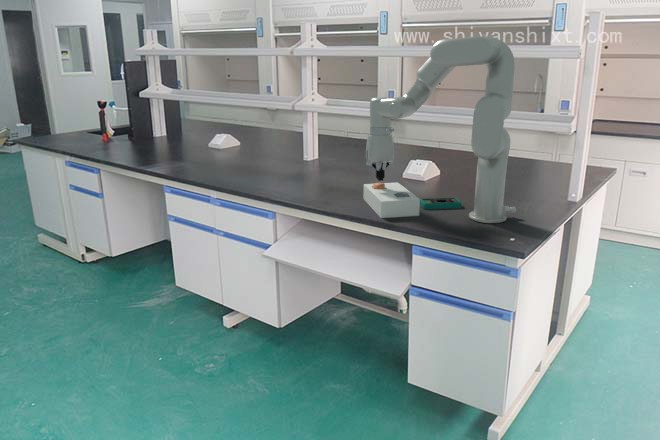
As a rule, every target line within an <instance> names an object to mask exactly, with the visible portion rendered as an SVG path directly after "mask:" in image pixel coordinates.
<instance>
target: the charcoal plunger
mask: <svg viewBox="0 0 660 440" xmlns="http://www.w3.org/2000/svg"><path fill="white" fill-rule="evenodd" d="M396 197H408V193H406V192H398V193H396Z"/></svg>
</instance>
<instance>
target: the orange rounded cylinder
mask: <svg viewBox="0 0 660 440" xmlns="http://www.w3.org/2000/svg"><path fill="white" fill-rule="evenodd" d="M384 183H385V182H384ZM384 183H383V182H375V183H372V184H373V189H385V184H384Z"/></svg>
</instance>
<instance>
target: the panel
mask: <svg viewBox="0 0 660 440" xmlns="http://www.w3.org/2000/svg"><path fill="white" fill-rule="evenodd" d="M373 184H374V183H364V184H363V200H364V202H366V204H368V206H370V208H371V209H372V210H373V211H374V212H375V213H376V214H377V215H378V217H379V218H380V219H387V218H402V217H404V218H405V217H406V218H407V217H419V216H420V207H421V206H420V198H419V197H417V196H416V195H415V194H414V193H413V192H411V191H409V190H408V188H406V187H405V186H403V185H402V184H400V183H399V182H397V181H396V182H384V184H385V189H373ZM398 192H406V193H408V197H396V193H398Z"/></svg>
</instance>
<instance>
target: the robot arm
mask: <svg viewBox="0 0 660 440" xmlns="http://www.w3.org/2000/svg"><path fill="white" fill-rule="evenodd" d="M429 55H430V56H429V58H428V59H427V60H426V61H425V62H424V63H423V64H422V65H421V66H420V67H419V68H418V70H417V72H416V80H415V81H414V84H413V85H412V86H411V87H410V88H409V90H408V91H406V92H405V94H404V95H403V96H398V97H394V98H393V97H392V98H389V97H386V96H385V97H383V96H381V97H380V96H378V97H377V96H376V97H371V99H370V100H369V135H368V134H367V138H366V139H367V140H366V145H365V146H366V147H365V148H366V149H365V160H366V162H365V165H366V166H368V167H373V168H374V169H375V178H376V179H377V180H378V182H381V181H384V179H385V177H386V176H385V170H386V169H387V168H388V167H389V166H392V165H394V164H395V147H394V146H395V145H394V144H395V143H394V139H393V135H392V134H391V133H392V132H394V131H395V128H394V127H392V126H391V119H392V120H401V119H404V118H407V117H410V116H412V115H413V114H415V113H416V112H417V111H418V110H420V108H421V107H422V106H423V105H424V104H425V102H426V101H428V99H429V98H430V97H431V96H432V94H433V92H434V91H435V89H436V88H437V87H438V86H439V84H441V83H442V82H443V80H444V79H445V78H446V77H447V76H449V74H450V73H451V72H452V71H453V70H454V69H455V68H456V67H464V66H465V67H467V66H483V65H486V66H487V73H486V79H485V89H484V95H483V96H482V97H481V98H480V99H479V100H478V101H477V103H476V104H475V106H474V111H473V116H472V117H473V118H472V128H471V129H472V131H471V143H470V144H471V149H472V152H473V153H474V154H473V155H475V156H476V157H477V158H478V159H477V165H476V174H475V175H476V177H475V188H474V189H475V190H474V192H475V193H474V205H473V210H472V211H470V212H469V213H468V218H469V219H471V220H472V221H475V222H479V223H484V224H500V223H503V222H505V221H507V219H508V216H507V214H508V213H516V212H517V208H516V206H510V207H509V205H504V200H505V199H504V197H505V189H506V188H505V187H506V178H507V177H506V175H507V168H508V161H509V153H510V150H511V138H510V134H509V132H508V130H507V129H505V128H504V123H505V120H506V119H507V118H508V117H509V116H510V114H511V112H512V104H513V103H512V102H513V93H514V80H515V79H514V78H515V70H516V69H515V63H516V62H515V57H514V54H513V51H512V50H511V48H510V46H508V44H507V43H505V42H504V41H502V40H500V39H499V38H497V37H493V36H489V35H488V36H487V35H486V36H481V35H479V36H477V35H476V36H469V37H458V38H443V39H439V40H437V41H436V42H435V43H434V44H433V46H432V47H431V48H430V53H429ZM380 163H381V164H380Z"/></svg>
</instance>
